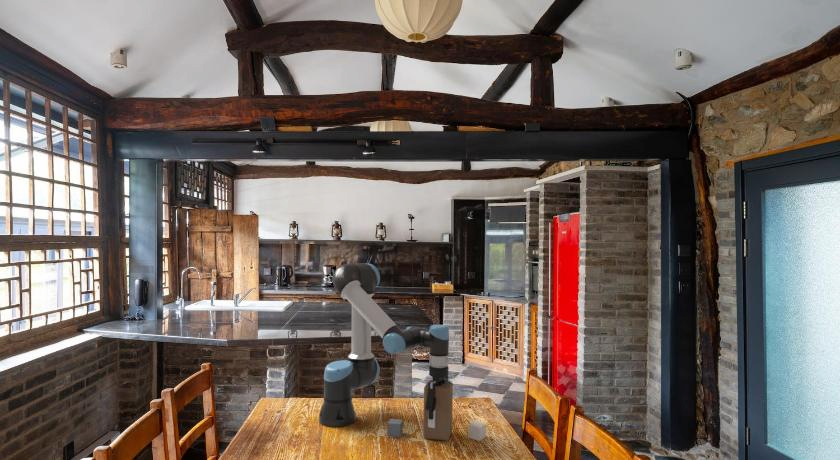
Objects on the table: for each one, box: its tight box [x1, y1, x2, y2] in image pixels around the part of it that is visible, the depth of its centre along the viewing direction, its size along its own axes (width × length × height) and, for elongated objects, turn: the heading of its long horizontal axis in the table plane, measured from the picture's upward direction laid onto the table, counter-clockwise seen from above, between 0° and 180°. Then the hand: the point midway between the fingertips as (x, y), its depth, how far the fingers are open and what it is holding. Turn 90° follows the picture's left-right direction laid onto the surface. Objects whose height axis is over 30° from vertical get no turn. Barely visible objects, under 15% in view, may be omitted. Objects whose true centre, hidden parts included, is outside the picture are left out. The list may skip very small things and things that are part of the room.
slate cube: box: [386, 418, 404, 438], centre depth 188 cm, size 5×5×5 cm
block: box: [422, 379, 454, 441], centre depth 188 cm, size 10×10×20 cm
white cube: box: [467, 420, 487, 442], centre depth 187 cm, size 5×5×5 cm
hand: (438, 422), depth 188 cm, fingers closed on block, 11 cm apart
